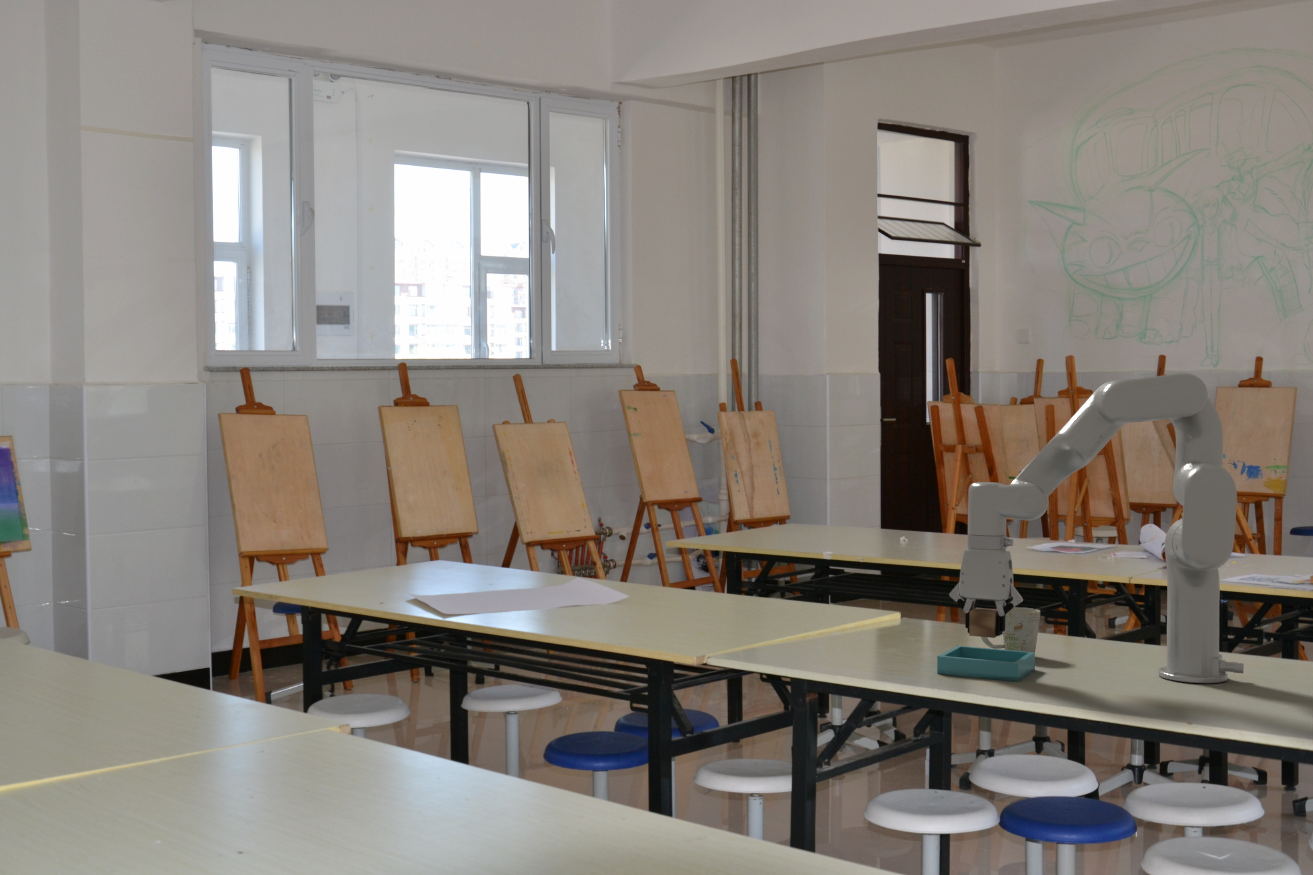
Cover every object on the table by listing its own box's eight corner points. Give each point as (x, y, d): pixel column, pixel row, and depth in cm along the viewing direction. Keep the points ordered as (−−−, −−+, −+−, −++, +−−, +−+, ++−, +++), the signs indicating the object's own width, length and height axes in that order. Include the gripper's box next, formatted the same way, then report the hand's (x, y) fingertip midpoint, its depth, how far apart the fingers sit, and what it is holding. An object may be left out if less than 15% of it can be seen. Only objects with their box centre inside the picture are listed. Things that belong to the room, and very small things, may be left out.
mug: (1044, 660, 270) (1045, 613, 270) (985, 660, 270) (985, 612, 270) (1034, 653, 279) (1034, 607, 278) (976, 652, 279) (976, 607, 279)
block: (1000, 634, 259) (1000, 609, 259) (994, 637, 254) (994, 612, 254) (976, 631, 261) (976, 607, 261) (969, 635, 257) (969, 610, 257)
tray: (1034, 669, 260) (1034, 652, 260) (1018, 681, 248) (1018, 663, 248) (957, 662, 268) (957, 645, 268) (937, 673, 256) (937, 656, 256)
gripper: (1033, 544, 257) (1032, 634, 257) (950, 539, 265) (948, 627, 265) (1025, 547, 250) (1023, 640, 250) (939, 542, 259) (938, 632, 259)
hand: (985, 632), depth 258 cm, fingers closed on block, 5 cm apart
